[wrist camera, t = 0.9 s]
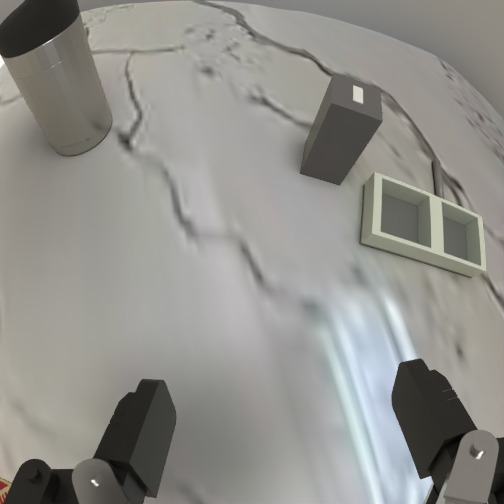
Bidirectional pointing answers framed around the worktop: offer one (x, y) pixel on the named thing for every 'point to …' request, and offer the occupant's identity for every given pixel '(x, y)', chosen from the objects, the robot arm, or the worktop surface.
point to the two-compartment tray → (422, 225)
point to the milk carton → (4, 489)
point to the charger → (341, 129)
